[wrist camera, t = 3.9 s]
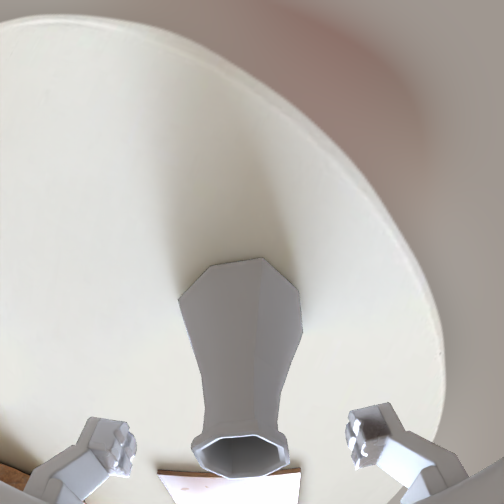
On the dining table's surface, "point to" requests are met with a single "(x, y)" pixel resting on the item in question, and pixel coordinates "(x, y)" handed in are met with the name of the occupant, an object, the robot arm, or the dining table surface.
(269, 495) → the coaster
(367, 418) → the robot arm
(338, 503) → the dining table surface
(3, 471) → the bread
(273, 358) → the flask
